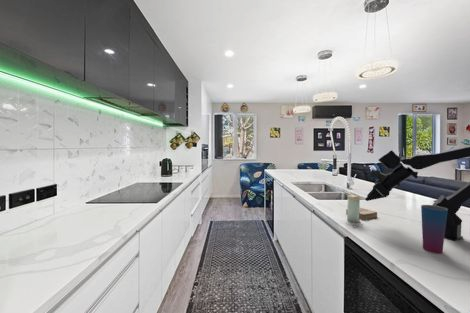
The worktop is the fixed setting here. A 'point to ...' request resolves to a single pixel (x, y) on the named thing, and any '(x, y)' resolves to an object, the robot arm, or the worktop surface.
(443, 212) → the cup
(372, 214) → the base
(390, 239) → the worktop surface
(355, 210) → the cream-capped mint cylinder
